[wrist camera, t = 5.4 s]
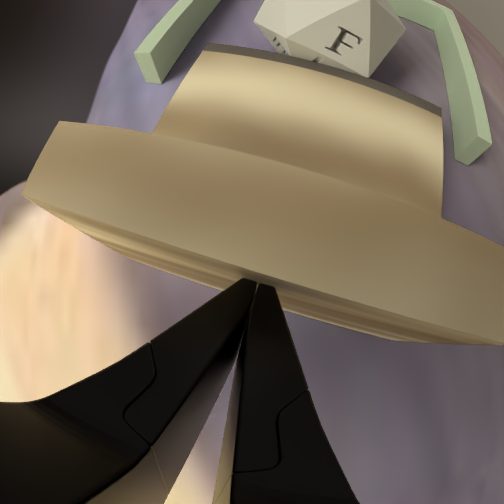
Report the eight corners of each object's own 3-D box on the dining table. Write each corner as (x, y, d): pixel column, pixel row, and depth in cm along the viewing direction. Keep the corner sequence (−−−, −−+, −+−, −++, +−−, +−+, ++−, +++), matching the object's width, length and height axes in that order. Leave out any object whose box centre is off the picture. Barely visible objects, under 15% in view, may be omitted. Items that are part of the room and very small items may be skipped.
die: (232, 67, 19) (263, 23, 10) (270, -21, 16) (315, -86, 7) (333, 107, 21) (415, 102, 12) (362, 22, 18) (439, -11, 10)
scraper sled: (392, 340, 14) (511, 345, 5) (128, 258, 15) (21, 194, 7) (421, 134, 16) (484, 45, 8) (214, 75, 18) (195, -32, 9)
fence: (468, 165, 16) (492, 144, 13) (146, 82, 18) (133, 53, 15) (442, 30, 20) (452, 10, 17) (229, -23, 22) (227, -45, 19)
